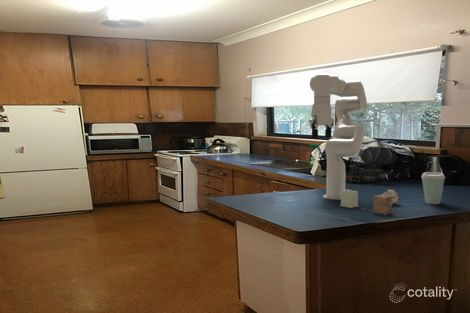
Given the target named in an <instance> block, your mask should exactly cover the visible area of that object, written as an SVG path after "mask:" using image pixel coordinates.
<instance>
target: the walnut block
mask: <svg viewBox="0 0 470 313" xmlns="http://www.w3.org/2000/svg"><path fill="white" fill-rule="evenodd" d="M392 209H393V204H392V196H387V195H380V194H377V195H373V211H374V212H378V213H377V214H379V213H383V214H382V215H384V214H386V213H389V212H393V210H392ZM374 212H373V213H374ZM386 215H387V214H386Z"/></svg>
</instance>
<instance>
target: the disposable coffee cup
mask: <svg viewBox="0 0 470 313" xmlns="http://www.w3.org/2000/svg"><path fill="white" fill-rule="evenodd" d="M445 179H446V176H445V175H444V173H442V172H438V171H426V172H423V173H422V174H421V181H422V189H423V194H424V201H425V204H430V205H439V204H440V203H441V200H442V194H443V190H444V183H445Z"/></svg>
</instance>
